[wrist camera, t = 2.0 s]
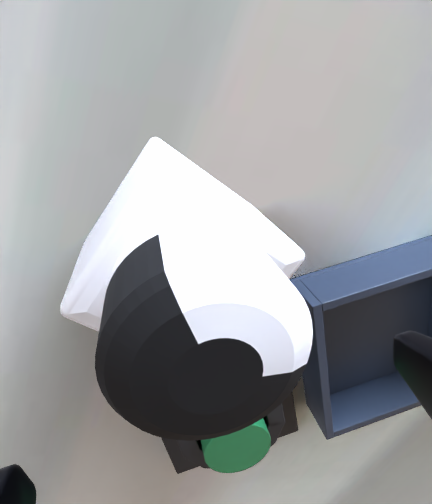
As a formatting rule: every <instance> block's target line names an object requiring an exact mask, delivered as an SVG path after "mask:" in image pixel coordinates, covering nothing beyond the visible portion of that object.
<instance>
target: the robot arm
mask: <svg viewBox="0 0 432 504" xmlns="http://www.w3.org/2000/svg"><path fill="white" fill-rule="evenodd" d="M393 361H394V365H395V367H396V369H397V370H398V372H399V373H400V375H401V376H402V378H403V379H404V380H405V382H406V383H407V385H408V386H409V388H410V389H411V390H412V392H413V393H414V395H415V396H416V398H417V399H418V400H419V402H420V403H421V405H422V406H423V408H424V409H425V410H426V412H427V413H428V415H429V416H430V418H431V419H432V337H429V336H426V335H423V334H421V333H418V332H415V331H406V332H403V333H400V334H397V335H395V337H394V346H393ZM0 504H36V489H35V486H34V484H33V482H32V481H31V480H30V478H29V477H28V476H27V475H26V473H25V472H24V471H23V469H22V468H21V467H20V466H19V465H16V464H13V465H10V466H7V467H4V468H1V469H0Z"/></svg>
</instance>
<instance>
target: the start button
mask: <svg viewBox="0 0 432 504" xmlns="http://www.w3.org/2000/svg"><path fill="white" fill-rule="evenodd" d="M201 444H202V449H203V455H204V459H205V462H206V464H207V465H208V466H209V467H210V468H211V469H213V470H215V471H217V472H222V473H234V472H239V471H242V470H245V469H248V468H250V467H252V466H253V465H255V464H257V463H258V462H259V461H260V460H261V459H263V457H264V456H265V455H266V454H267V452H268V450H269V448H270V445H271V437H270V434H269V431H268V429H267V426H266V424H265V421H264V419H263V418H262V419H261V420H259V421H257V422H255V423H254V424H252V425H250V426H248V427H246V428H244V429H242V430H239V431H237V432H234V433H231V434H228V435H225V436H221V437H217V438H211V439H205V440H201Z"/></svg>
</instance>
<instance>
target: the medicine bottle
mask: <svg viewBox="0 0 432 504" xmlns="http://www.w3.org/2000/svg"><path fill="white" fill-rule="evenodd" d="M304 260H305V253H304V252H303V250H302V249H301V248H300V247H299V246H298V245H296V244H295V243H294V242H293V241H292V240H291V239H290V238H289V237H287V236H286V235H285V234H284V233H283V232H282V231H281V230H280V229H278V228H277V227H276V226H275V225H274V224H273V223H272V222H271V221H269V220H268V219H267V218H266V217H265V216H264V215H263V214H261V213H260V212H259V211H258V210H257V209H256V208H255V207H254V206H252V205H251V204H249V203H248V202H247V201H245V200H244V199H243V198H241V197H240V196H238V195H237V194H236V193H234V192H233V191H231V190H230V189H229V188H227V187H226V186H225V185H223V184H222V183H220V182H219V181H218V180H216V179H215V178H213V177H212V176H211V175H209V174H208V173H207V172H205V171H204V170H202V169H201V168H200V167H198V166H197V165H195V164H194V163H193V162H191V161H190V160H189V159H187V158H186V157H184V156H183V155H182V154H180V153H179V152H177V151H176V150H175V149H173V148H172V147H171V146H169V145H168V144H166V143H165V142H164V141H162V140H161V139H159V138H157V137H153V138H151V139H150V140H149V141H148V143H147V144H146V146H145V147H144V149H143V150H142V152H141V154H140V155H139V157H138V158H137V160H136V161H135V163H134V165H133V166H132V168H131V169H130V171H129V172H128V174H127V175H126V177H125V179H124V180H123V182H122V183H121V185H120V186H119V188H118V190H117V191H116V193H115V194H114V196H113V197H112V199H111V201H110V202H109V204H108V205H107V207H106V208H105V210H104V211H103V213H102V215H101V216H100V218H99V219H98V221H97V222H96V224H95V226H94V227H93V229H92V230H91V232H90V233H89V235H88V237H87V238H86V240H85V241H84V244H83V247H82V249H81V252H80V255H79V257H78V260H77V263H76V265H75V268H74V271H73V273H72V276H71V279H70V281H69V284H68V287H67V289H66V292H65V295H64V298H63V300H62V303H61V306H60V312H61V314H62V316H64V317H65V318H67V319H70V320H72V321H75V322H77V323H79V324H82V325H84V326H87V327H89V328H91V329H94V330H96V331H98V332H99V336H98V342H97V348H96V354H95V370H96V376H97V381H98V384H99V386H100V389H101V392H102V393H103V395H104V397H105V398H106V400H107V402H108V403H109V404H110V405H111V407H112V408H113V409H114V410H115V411H116V412H117V413H118V414H119V415H121V416H122V417H123V418H124V419H125V420H127V421H128V422H129V423H131V424H132V425H134V426H136V427H137V428H139V429H141V430H142V431H145V432H147V433H150V434H152V435H155V436H159V437H162V438H166V439H173V440H185V441H193V440H205V439H211V438H217V437H221V436H225V435H228V434H231V433H234V432H237V431H239V430H242V429H244V428H246V427H248V426H250V425H252V424H254V423H255V422H257V421H259V420H261V419H262V418H264V417H265V416H266V415H268V414H269V413H271V412H272V411H273V410H274V409H275V408H277V407H278V406H279V405H280V404H281V403H282V402H283V401H284V400H285V399H286V398H287V397H288V395H289V394H290V393H291V392H292V390H293V389H294V388H295V386H296V385H297V383H298V381H299V380H300V378H301V376H302V374H303V372H304V369H305V367H306V364H307V361H308V358H309V355H310V351H311V346H312V338H313V328H312V319H311V316H310V312H309V309H308V307H307V304H306V302H305V300H304V298H303V297H302V295H301V294H300V293H299V291H298V290H297V288H296V287H295V286H294V285H293V284H292V283H291V282H290V280H289V279H290V277H291V276H292V275H293V274H294V273H295V271H296V270H297V269H298V268H299V267H300V265H301V264H302V263H303V261H304Z"/></svg>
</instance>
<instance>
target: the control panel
mask: <svg viewBox="0 0 432 504" xmlns="http://www.w3.org/2000/svg"><path fill="white" fill-rule="evenodd" d="M263 419H264V421H265V424H266V426H267V429H268V431H269V434H270V437H271V445H270V447H271V446H272V445H273V444H274V443H275V442H276V440H277V438H279V437H282V436H284V435H287V434H290V433H293V432H296V431H298V425H297V419H296V413H295V407H294V401H293V395H292V392H291V393H290V394H289V395H288V397H287V398H286V399H285V400H284V401H283V402H282V403H281V404H280V405H279V406H278V407H277V408H275V409H274V410H273V411H272V412H271V413H269V414H268V415H266V416H265V417H264V418H263ZM161 438H162V437H161ZM162 440H163V443H164V445H165V447H166V449H167V452H168V454H169V456H170V458H171V461H172V463H173V465H174V467H175V470H176V472H177V474H179V473H182V472H184V471H187V470H190V469H193V468H195V467H198V466H201V467H203V468H210V467H209V466H208V465H207V464H206V462H205V459H204V455H203V449H202V444H201V440H193V441H185V440H173V439H166V438H162Z"/></svg>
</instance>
